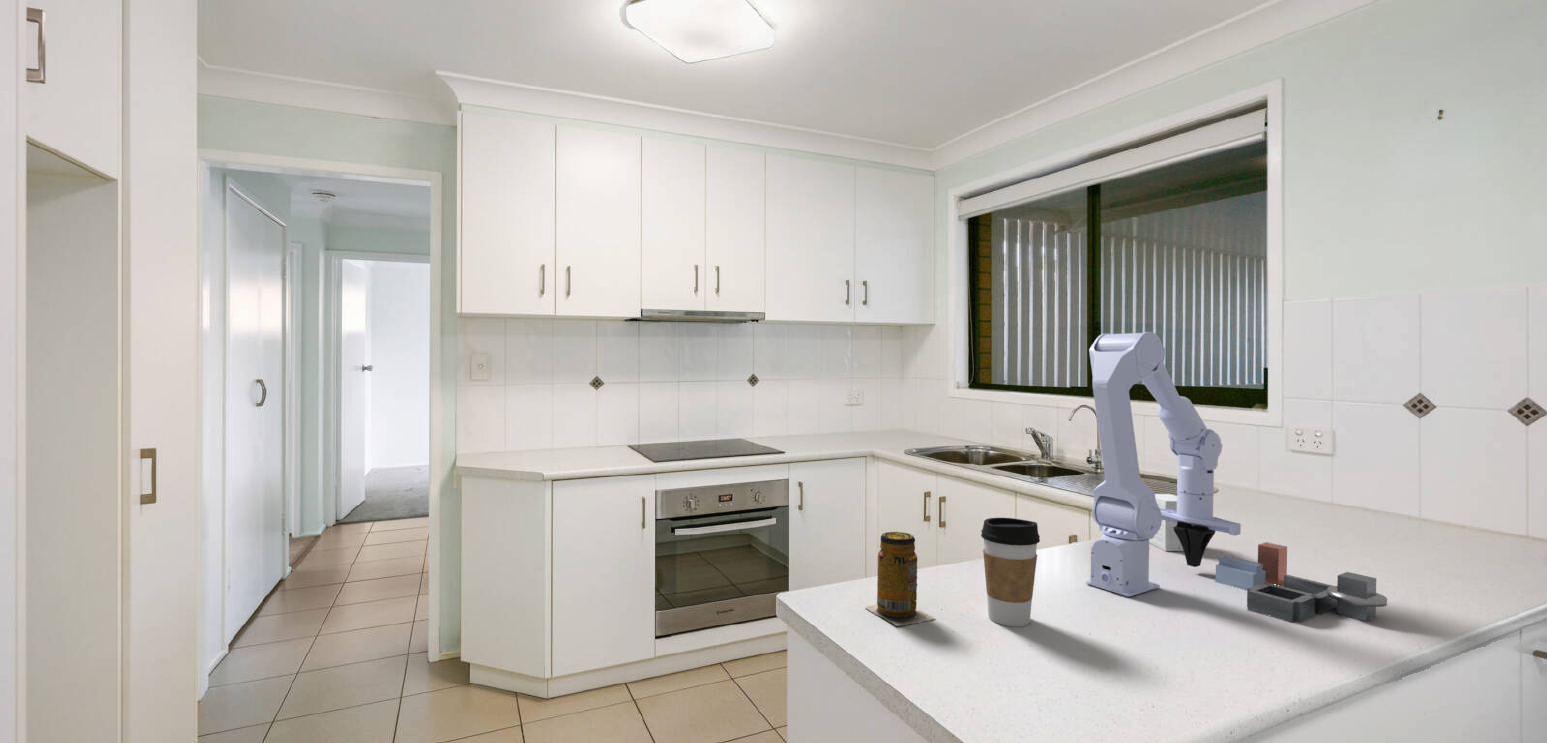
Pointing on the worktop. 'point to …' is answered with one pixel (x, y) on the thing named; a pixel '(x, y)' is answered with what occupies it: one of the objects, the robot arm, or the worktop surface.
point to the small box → (1166, 526)
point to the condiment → (898, 580)
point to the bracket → (1239, 572)
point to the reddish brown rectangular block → (1273, 562)
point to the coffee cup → (1010, 568)
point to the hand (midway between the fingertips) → (1193, 565)
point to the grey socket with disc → (1317, 598)
